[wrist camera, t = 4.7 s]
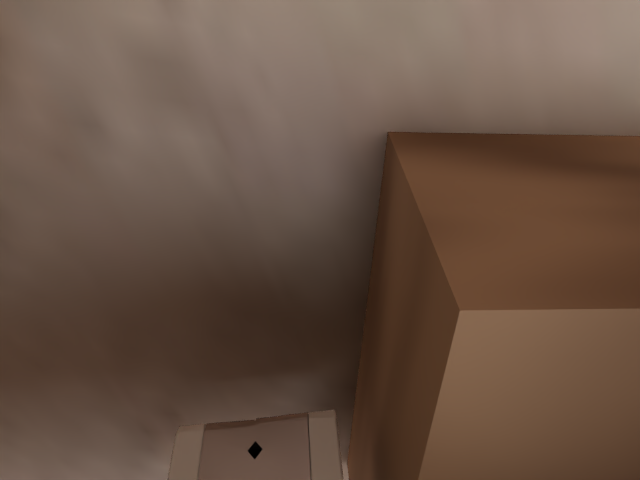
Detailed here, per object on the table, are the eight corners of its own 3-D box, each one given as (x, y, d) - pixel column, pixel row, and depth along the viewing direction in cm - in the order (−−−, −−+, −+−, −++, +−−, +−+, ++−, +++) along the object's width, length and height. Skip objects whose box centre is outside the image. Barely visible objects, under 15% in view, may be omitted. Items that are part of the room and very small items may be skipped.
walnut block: (346, 457, 14) (372, 666, 11) (386, 128, 9) (459, 309, 6) (608, 449, 15) (717, 645, 11) (779, 134, 10) (1079, 303, 6)
